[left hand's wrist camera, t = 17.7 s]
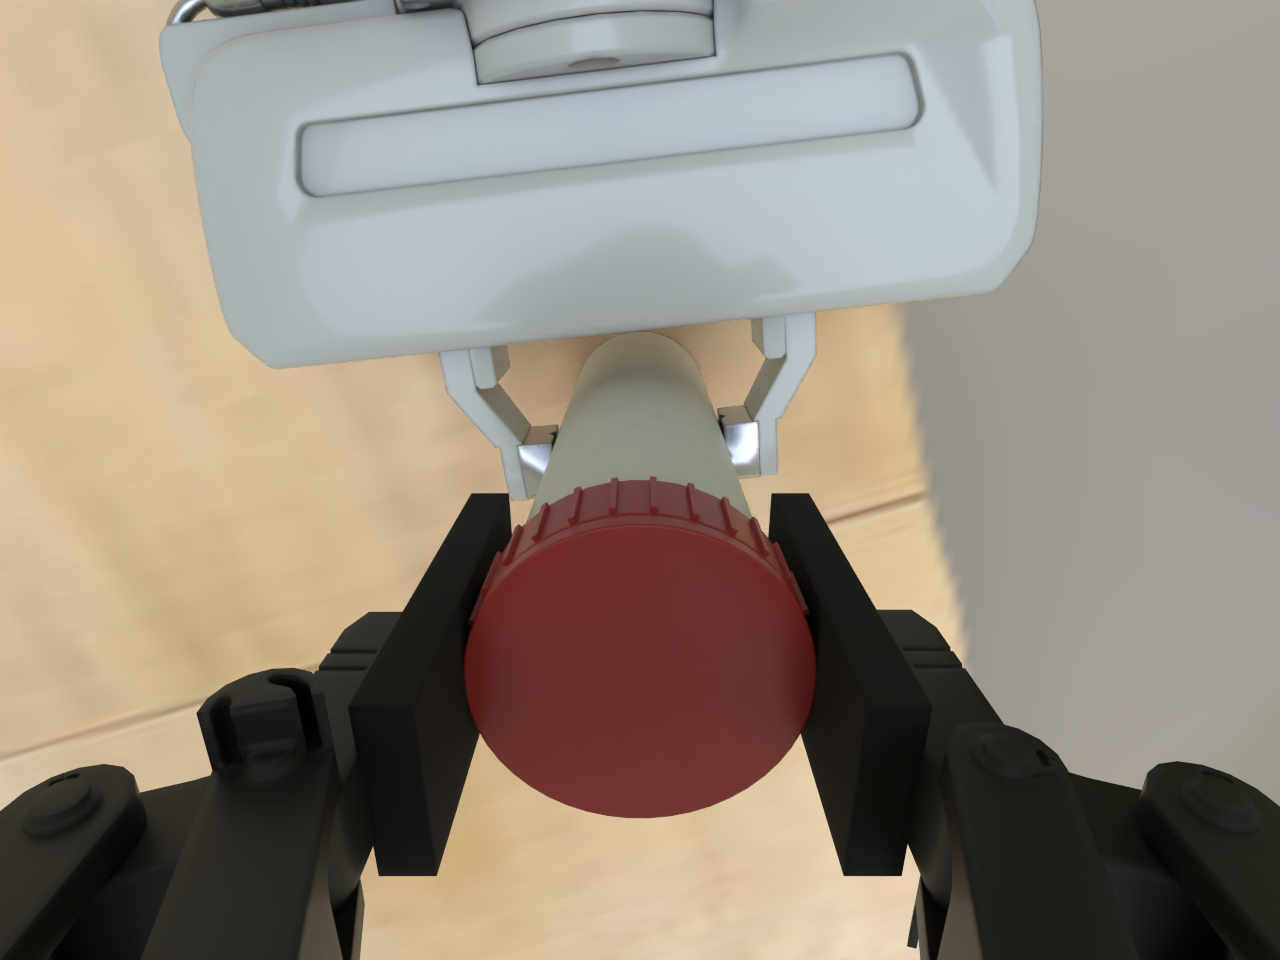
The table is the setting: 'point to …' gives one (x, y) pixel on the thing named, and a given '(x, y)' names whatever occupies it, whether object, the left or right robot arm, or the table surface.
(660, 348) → the jar
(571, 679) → the lid
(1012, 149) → the right robot arm
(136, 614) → the table surface
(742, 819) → the table surface
